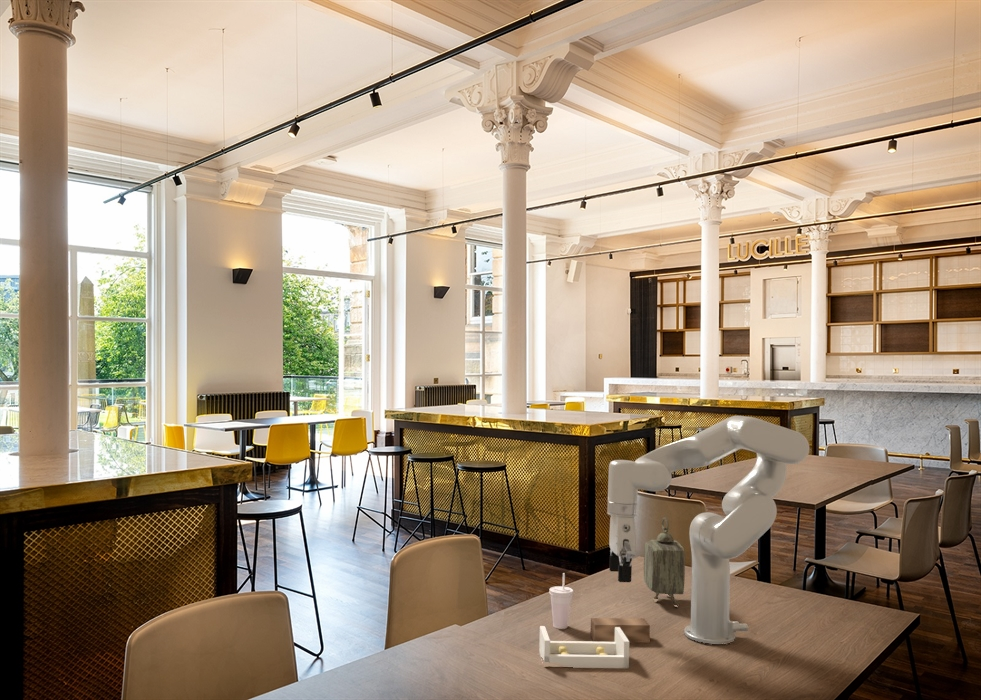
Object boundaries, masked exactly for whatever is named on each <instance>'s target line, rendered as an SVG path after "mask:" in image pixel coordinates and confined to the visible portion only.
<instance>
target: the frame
mask: <svg viewBox="0 0 981 700" xmlns="http://www.w3.org/2000/svg"><path fill="white" fill-rule="evenodd" d="M538 642H539V644H538V649H539V650H538V653H539V655H540V658H541V657H542V658H543V660H544V662H549V663H556V664H561V665H564V666H568V667H573V669H576V668H578V669H580V668H581V669H629V667H630V664H629V663H630V642H629V640H628V639H627V637H626V636H625V634H624V633H623V631H622V630H621V628H620V627H615V641H614V642H594V640H593V641H592V640H591V641H588V640H587V641H586V640H585V641H584V640H581V641H578V640H574V641H573V640H570V641H569V640H551V639H550V636H549V634H548V631H547V628H546V626H545V625H540V626H539V641H538Z"/></svg>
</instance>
